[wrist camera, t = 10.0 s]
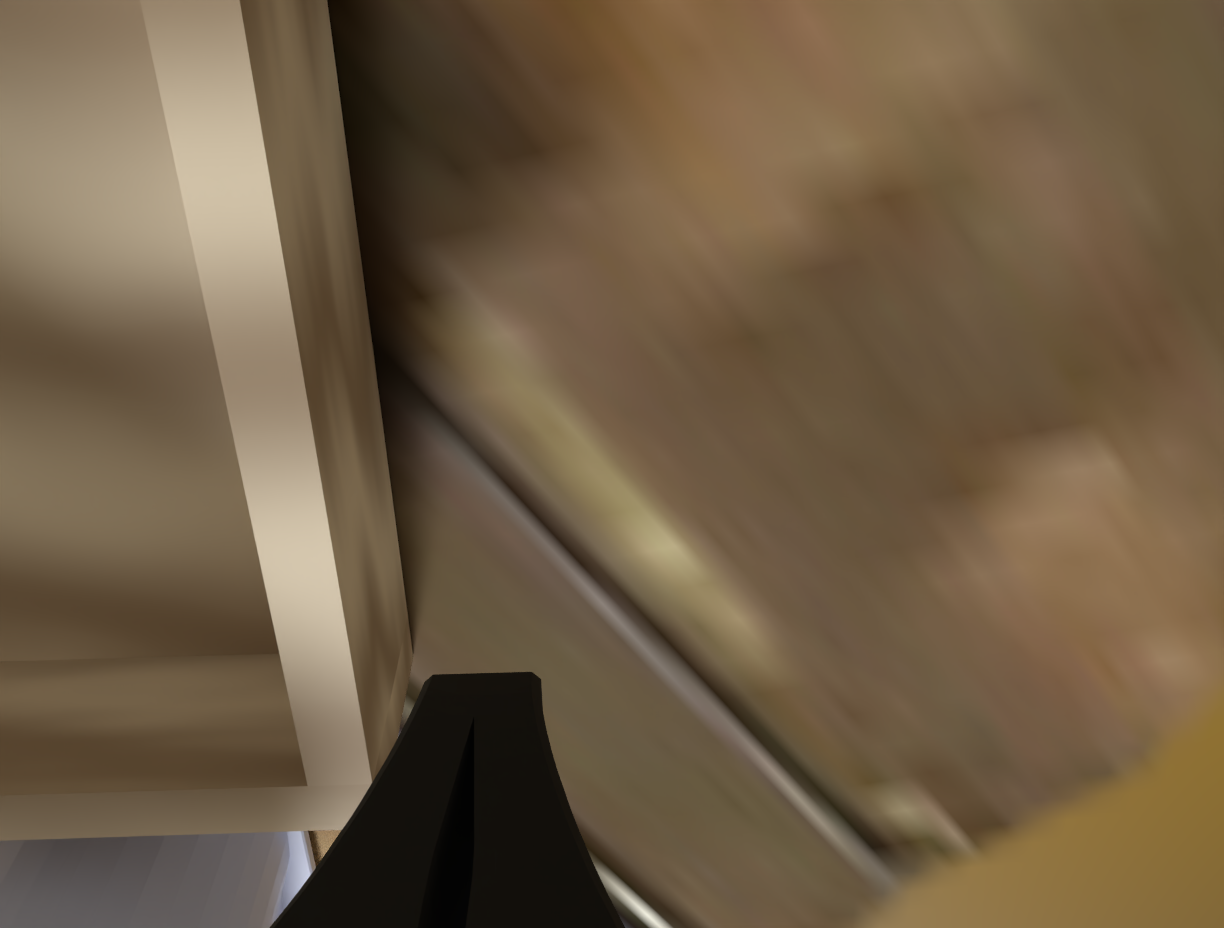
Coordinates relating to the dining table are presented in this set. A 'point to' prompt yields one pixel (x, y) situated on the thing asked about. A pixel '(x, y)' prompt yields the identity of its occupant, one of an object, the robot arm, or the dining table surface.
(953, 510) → the dining table surface
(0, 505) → the cart bed
